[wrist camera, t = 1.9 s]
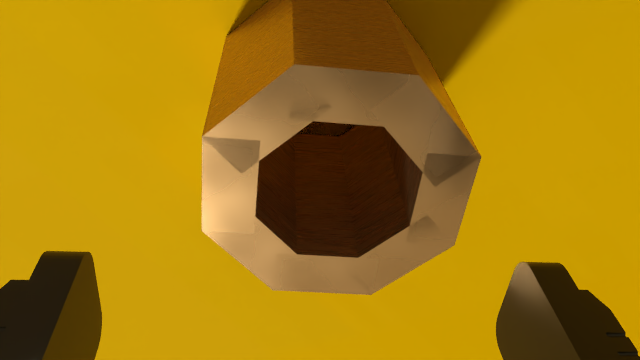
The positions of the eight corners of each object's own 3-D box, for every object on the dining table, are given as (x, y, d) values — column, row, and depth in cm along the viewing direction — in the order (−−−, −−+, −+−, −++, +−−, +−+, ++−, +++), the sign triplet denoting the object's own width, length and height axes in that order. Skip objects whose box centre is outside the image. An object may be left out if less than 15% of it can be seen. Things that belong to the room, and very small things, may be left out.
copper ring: (439, -4, 17) (504, 82, 12) (400, 172, 20) (438, 298, 15) (227, -26, 16) (202, 55, 11) (223, 160, 19) (201, 287, 14)
